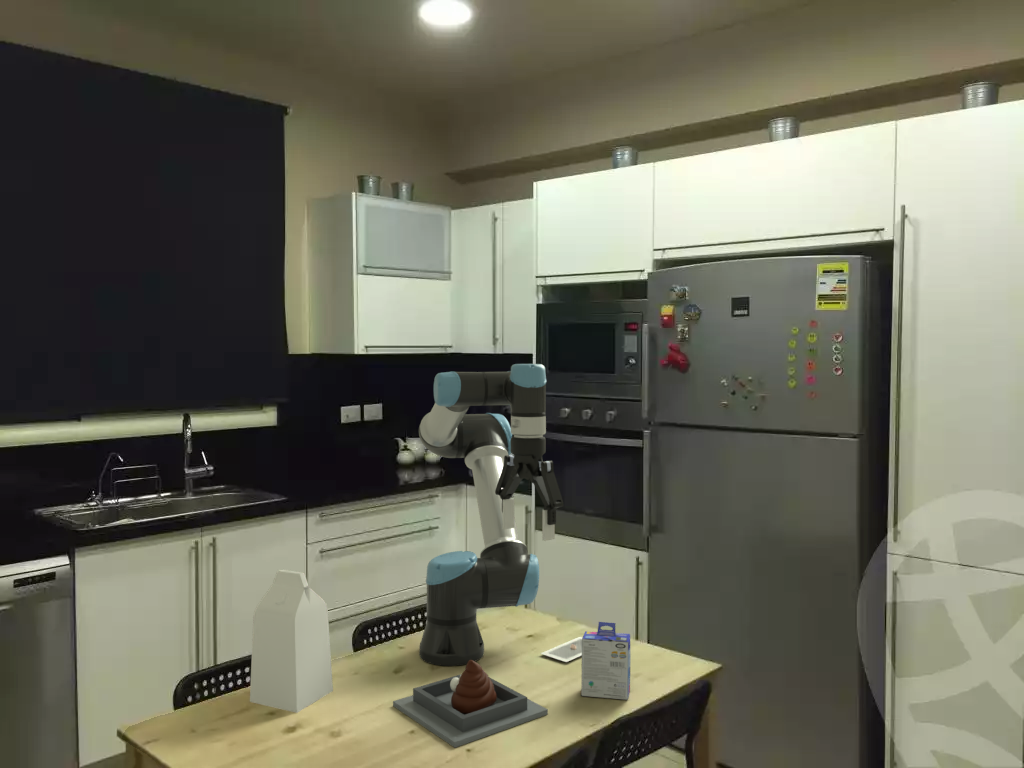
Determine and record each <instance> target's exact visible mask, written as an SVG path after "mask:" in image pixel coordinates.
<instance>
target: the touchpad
mask: <svg viewBox="0 0 1024 768" xmlns="http://www.w3.org/2000/svg"><path fill="white" fill-rule="evenodd" d="M582 638H583V636H578V637H576V638H573V639H571V640H569V641H566V642H564V643H561V644H559V645H556V646H555V647H552V648H550V649H547V650H545V651H543V652H540V654H541V655H544V656H546V657H549V658H553V659H555V660H558V661H562V662H565V663H568V662H569V661H572V660H574V659H577V658H580V657H582Z"/></svg>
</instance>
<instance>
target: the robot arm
mask: <svg viewBox="0 0 1024 768" xmlns="http://www.w3.org/2000/svg"><path fill="white" fill-rule="evenodd" d="M546 375H547V374H546V367H545V365H543V364H541V363H515V364H512V365H511V366H510V370H508V371H478V372H477V371H446V372H438V373H437V374H436V375H435V377H434V381H433V399H434V405H433V407H432V408H431V410H430V412H428V413H426V414H425V415H424V416H423V417H422V419H421V421H420V424H419V427H418V436H419V439H420V442H421V443H422V444H423V446H424V447H425V448H426V449H427V450H428V451H430V452H431V453H432V454H434V455H437V456H439V457H443V458H446V459H447V458H448V459H462V458H463V459H464V463H465V465H466V467H467V468H468V469H470V470H471V471H472V475H473V476H472V477H473V484H474V489H475V496H476V500H477V501H476V502H477V508H478V512H479V513H478V514H479V520H480V525H481V532H482V537H483V544H484V547H483V549H482V550H481V552H480V554H479V557H478V556H477V554H476V552H473V551H468V550H465V551H463V550H457V551H451V552H446V553H442V554H439V555H437V556H435V557H433V558H431V560H430V561H429V562H428V564H427V567H426V577H425V578H426V579H425V584H426V624H425V627H424V629H423V634H422V637H421V640H420V643H419V646H418V647H419V648H418V649H419V651H418V652H419V657H420V659H421V660H422V661H424V662H425V663H428V664H431V665H435V666H443V667H444V666H447V667H450V666H451V667H452V666H453V667H454V666H463V665H464V666H465V665H467V663H468V661H469V660H473V661H475V662H477V661H479V660H480V659H482V658H483V657H484V655H485V644H484V640H483V637H482V634H481V631H480V628H479V624H478V620H477V610H479V609H491V608H505V607H506V608H507V607H518V606H524V605H530V604H532V603H534V601H535V599H536V597H537V594H538V591H539V586H540V585H539V583H540V563H539V559H538V556H537V555H536V554H533V553H529V552H528V547H527V545H526V544H525V543H524V542H522V541H520V537H519V532H518V528H517V527H518V526H517V523H516V518H515V498H514V497H515V496H514V493H515V492H516V491H517V489H518V488H519V485H520V484H521V482H522V481H523V479H525V480H527V481H530V483H532V484H533V485H534V487H535V489H536V491H537V494H538V496H539V498H540V500H541V501H542V504H543V506H544V507H543V508H542V527H541V528H542V536H541V537H542V541H544V542H546V541H552V540H555V539H556V538H555V534H556V533H555V532H556V531H555V528H556V527H555V525H556V523H557V509H558V508H562V507H564V505H565V503H564V501H563V497H562V493H561V490H560V488H559V484H558V481H557V478H556V475H555V472H554V471H555V469H554V461H553V460H546V461H545V460H544V461H543V455H544V454H546V449H547V448H546V442H547V441H546V437H545V436H544V435H546V433H547V429H546V428H547V421H546V420H547V418H546V417H547V416H546V411H547V410H546V407H547V406H546V403H547V402H546V399H547V398H546V397H547V396H546V395H547V393H546V392H547V382H548V381H547V376H546ZM473 406H474V407H479V406H480V407H481V406H510V422H509V421H508V419H507V418H506V417H505V416H504V415H503V414H501V413H491V412H486V413H475V414H474V413H469V414H467V412H468V410H469V408H470V407H473Z"/></svg>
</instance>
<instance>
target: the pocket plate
mask: <svg viewBox="0 0 1024 768" xmlns="http://www.w3.org/2000/svg"><path fill="white" fill-rule="evenodd" d="M461 674H462V673H461ZM461 674H458V675H457V674H456V675H454V676H451V677H447V678H444V679H440V680H436V681H434V682H430V683H427V684H424V685H420V686H417V687H414V688H413V689H412V695H409V696H406V697H401V698H398V699H395V700H393V701H392V707H394V708H395V709H396V710H399V711H400V712H401V713H403V714H404V715H406V717H407V716H408V717H409V718H410V719H412V720H413V721H414V722H416V723H418V724H419V725H421V726H422V727H423V728H425V729H426V730H427V731H428V732H429V731H430V732H431V733H432V734H434V735H435V736H437V737H438V738H439V739H441V740H443V741H444V742H446V743H447V744H449V745H450V746H451V747H453V748H458V747H461V746H463V745H464V746H465V745H467V744H469V743H472V742H475V741H478V740H481V739H483V738H485V737H488V736H491V735H494V734H497V733H499V732H503V731H505V730H508V729H511V728H513V727H516V726H519V725H522V724H525V723H528V722H530V721H533V720H535V719H539V718H542V717H544V716H547V715H548V714H549V710H548V708H546V707H544V706H542V705H540V704H538V703H537V702H534V701H533V700H531V699H529V698H528V696H526V695H524V694H522V693H520V692H518V691H516V690H514V689H512V688H510V686H507V685H505V684H503V683H501V682H499V681H497V680H495V679H494V678H491V677H489V676H488V677H489V678H490V679H491V681H492V683H493V686H494V690H495V692H496V696H497V698H496V702H495V703H494V704H493V705H491V706H489V707H487V708H484V709H481V710H478V711H475V712H472V713H469V714H464V713H460V712H459V711H457V710H455V709H454V708H453V707H452V704H451V698H452V695H453V693H454V691H453V690H452V689H451V687H450V682H451V680H452V679H453V678H455V677H457V678H459V677H460V675H461Z"/></svg>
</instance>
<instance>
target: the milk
mask: <svg viewBox="0 0 1024 768" xmlns="http://www.w3.org/2000/svg"><path fill="white" fill-rule="evenodd" d="M252 618H253V619H252V639H251V640H252V641H251V642H252V643H251V663H250V664H251V666H250V668H251V669H250V689H249V691H250V692H249V702H250V703H253V704H258V705H261V706H266V707H270V708H275V709H279V710H283V711H287V712H292V713H294V714H295V713H296V714H298V713H299V712H301V711H303V710H304V709H306V708H308V707H309V706H311V705H313V704H314V703H316V702H318V701H319V700H320V699H322V698H323V697H325V696H327V695H329V694H330V693H332V692H333V691H334V687H333V685H334V684H333V673H332V672H333V671H332V670H333V669H332V657H331V655H332V654H331V641H330V640H331V639H330V626H329V625H330V624H329V611H328V605H327V602H326V601H325V599H323V598H322V597H321V596H320V595H319V594H317V592H316V591H315V590H313V589H312V587H310V586H309V583H308V580H307V576H306V574H305V572H302V571H297V570H291V569H290V570H289V569H284V568H283V569H279V570H278V569H277V571H276V574H275V577H274V579H273V582H272V584H271V585H270V587H269V588H268V590H267V591H266V593H265V594H264V595H263V597H262V598H261V599H260V601H259V602H258V604H257V605H256V607H255V609H254V612H253V617H252Z"/></svg>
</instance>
